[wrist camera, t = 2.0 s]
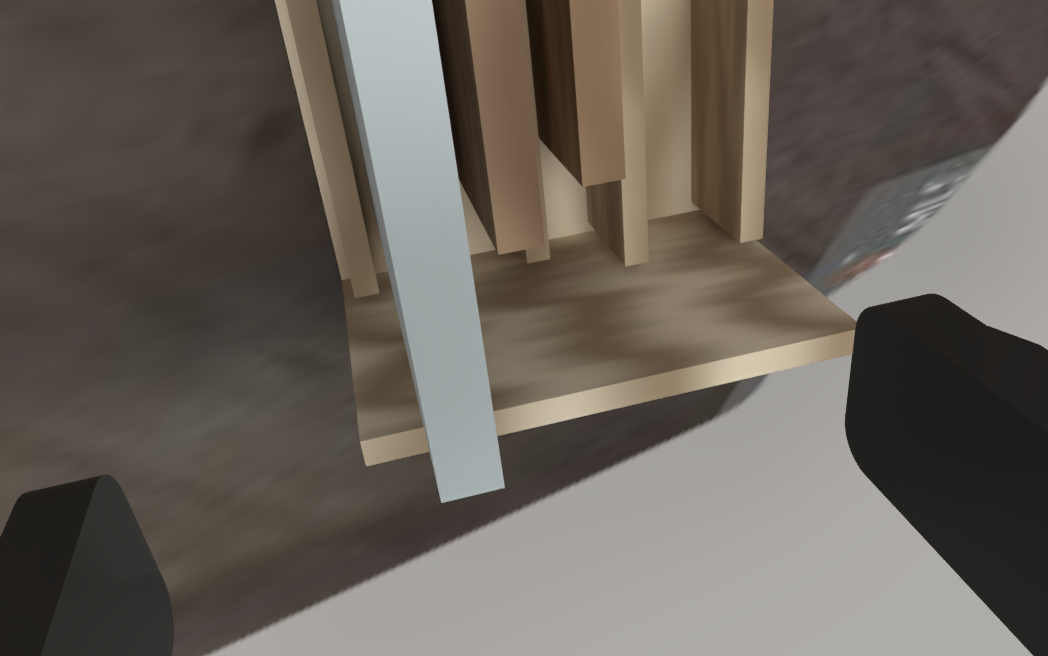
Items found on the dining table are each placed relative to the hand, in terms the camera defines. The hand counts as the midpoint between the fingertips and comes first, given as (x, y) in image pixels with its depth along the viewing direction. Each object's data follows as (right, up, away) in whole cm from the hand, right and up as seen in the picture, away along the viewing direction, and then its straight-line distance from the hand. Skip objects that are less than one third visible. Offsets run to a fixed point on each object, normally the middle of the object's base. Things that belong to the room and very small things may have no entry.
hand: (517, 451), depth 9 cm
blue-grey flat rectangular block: (-6, +13, +23) cm, 27 cm away
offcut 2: (+1, +14, +24) cm, 28 cm away
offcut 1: (-3, +13, +23) cm, 27 cm away
